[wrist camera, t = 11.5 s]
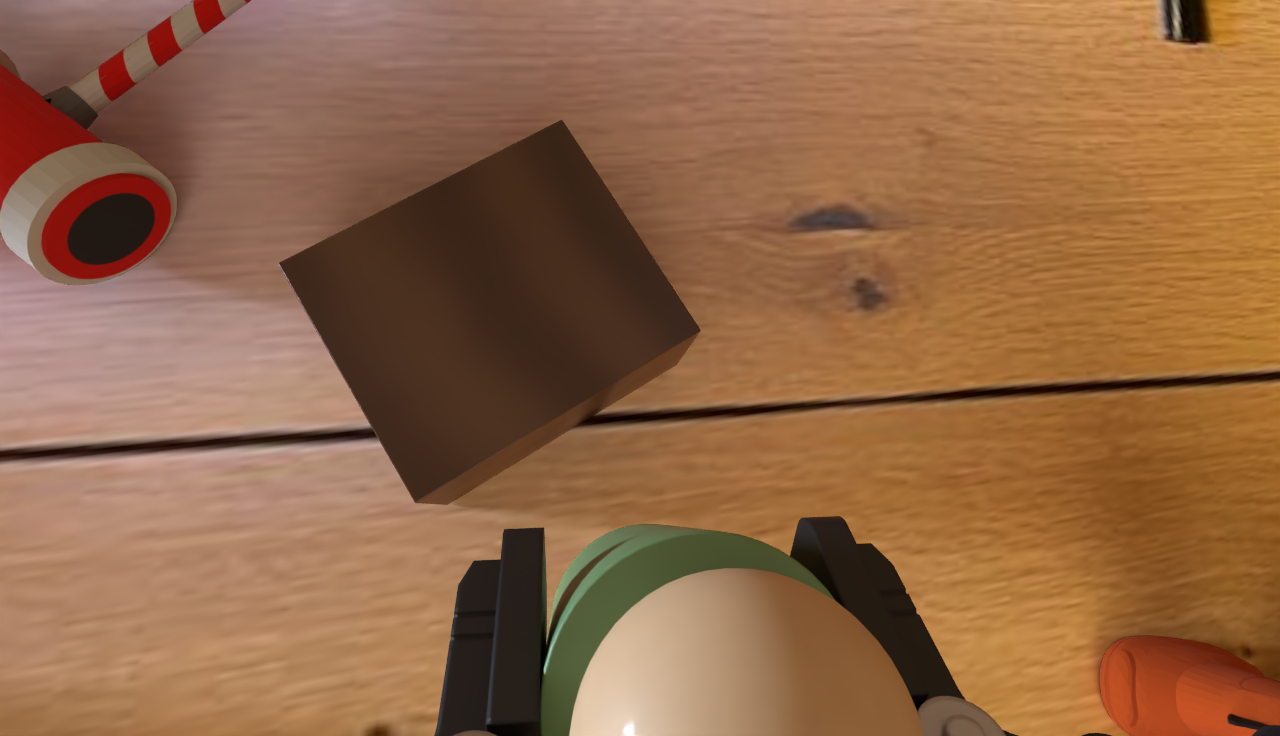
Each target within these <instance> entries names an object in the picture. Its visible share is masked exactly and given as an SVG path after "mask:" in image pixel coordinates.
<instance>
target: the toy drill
mask: <svg viewBox="0 0 1280 736" xmlns="http://www.w3.org/2000/svg"><path fill="white" fill-rule="evenodd" d="M1100 688H1101V695H1102V699H1103V703H1104V706H1105V708H1106V710H1107V712H1108V714H1109V716H1110V717H1111V718H1112V719H1113V721H1114V722H1115V723H1116V724H1117V725H1118V726H1119V727H1120V728H1121V729H1122V730H1124V731H1125V732H1127V733H1128V734H1130V735H1132V736H1280V682H1278V681H1275V680H1271V679H1268V678H1266V677H1265V676H1264V675H1263V674H1262V673H1261V672H1260V671H1259V670H1258V669H1257V668H1256V667H1254V666H1253V665H1251V664H1249V663H1247V662H1246V661H1244V660H1242V659H1240V658H1238V657H1236V656H1234V655H1232V654H1230V653H1229V652H1227V651H1225V650H1223V649H1221V648H1218V647H1215V646H1212V645H1209V644H1205V643H1200V642H1195V641H1190V640H1183V639H1177V638H1169V637H1161V636H1149V635H1148V636H1131V637H1126V638H1123V639H1120V640H1118V641H1116V642H1114V643H1113V644H1112V645H1111V646H1110V647H1109V648H1108V649H1107V651H1106V653H1105V655H1104V657H1103V659H1102V664H1101V668H1100Z"/></svg>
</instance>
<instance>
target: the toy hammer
mask: <svg viewBox="0 0 1280 736" xmlns="http://www.w3.org/2000/svg"><path fill="white" fill-rule="evenodd" d="M250 1H251V0H193V1H192V2H190V3H189V4H187V5H186V6H184V7H183V8H182V9H180V10H179V11H177V12H176V13H174V14H173V15H172V16H170V17H169V18H167V19H166V20H165V21H163V22H162V23H160V24H159V25H157V26H156V27H155V28H153V29H152V30H150V31H149V32H147V33H146V34H145V35H143V36H142V37H140V38H139V39H138V40H136V41H135V42H133V43H132V44H130V45H129V46H128V47H126V48H125V49H123V50H122V51H120V52H119V53H118V54H116V55H115V56H113V57H112V58H110V59H109V60H108V61H106V62H105V63H103V64H102V65H101V66H99V67H98V68H96V69H95V70H93V71H92V72H91V73H89V74H88V75H86V76H85V77H83V78H82V79H81V80H79V81H78V82H76V83H75V84H73V85H72V86H71V87H69V88H68V87H66V86H65V87H62V88H60V89H58V90H56V91H54V92H52V93H49V94H47V95H45V96H41V95H40V94H39V93H38V92H36V91H35V90H34V89H32V88H31V87H30V86H28V85H27V84H26V83H25V82H23V81H22V80H21V78H20V75H19V73H18V71H17V69H16V67H15V65H14V63H13V62H12V61H11V60H10V58H9V57H8V56H7V55H6V54H5V53H4V52H3V51H2V50H0V230H1V233H2V237H3V239H4V241H5V242H6V244H7V245H8V247H9V248H10V249H11V250H12V251H13V252H14V253H15V254H17V255H18V256H19V257H20V258H22V259H23V260H24V261H25V262H27V263H28V264H29V265H30V266H32V267H33V268H34V269H36V270H37V271H38V272H39V273H41V274H42V275H43V276H44V277H46V278H48V279H51V280H53V281H55V282H58V283H63V284H67V285H86V284H94V283H99V282H102V281H106V280H110V279H112V278H114V277H117V276H119V275H122V274H124V273H125V272H127V271H129V270H131V269H133V268H134V267H136V266H137V265H139V264H140V263H141V262H143V261H144V260H145V259H147V258H148V257H149V256H150V255H151V254H152V253H153V252H154V251H155V250H156V249H157V248H158V247H159V246H160V244H161V243H162V242H163V241H164V239H165V238H166V236H167V235H168V233H169V231H170V229H171V227H172V225H173V222H174V220H175V216H176V211H177V196H176V193H175V190H174V187H173V185H172V184H171V182H170V181H169V179H168V178H167V177H166V176H165V175H163V174H162V173H161V172H160V171H159V170H157V169H156V168H155V167H153V166H152V165H151V164H149V163H148V162H147V161H146V160H144V159H143V158H142V157H140V156H139V155H138V154H136V153H135V152H133V151H131V150H129V149H127V148H125V147H123V146H119V145H115V144H111V143H103V142H101V141H100V140H99V139H97V138H96V137H95V136H94V135H92V134H91V133H90V132H88V131H87V130H86V129H87V128H88V127H89V126H90V125H91V124H92V122H93V121H94V120H95V119H96V118H97V117H98V114H97V113H98V112H99V111H100V110H102V109H103V108H104V107H106V106H107V105H108V104H110V103H111V102H113V101H114V100H115V99H117V98H118V97H119V96H121V95H122V94H124V93H125V92H126V91H128V90H129V89H130V88H132V87H133V86H134V85H136V84H137V83H139V82H140V81H141V80H143V79H144V78H145V77H147V76H148V75H150V74H151V73H152V72H154V71H155V70H156V69H158V68H159V67H161V66H162V65H163V64H165V63H166V62H167V61H169V60H170V59H172V58H173V57H174V56H176V55H177V54H178V53H180V52H181V51H182V50H184V49H185V48H187V47H188V46H189V45H191V44H192V43H193V42H195V41H196V40H198V39H199V38H200V37H202V36H203V35H204V34H206V33H207V32H209V31H210V30H211V29H213V28H214V27H215V26H217V25H218V24H220V23H221V22H222V21H224V20H225V19H226V18H228V17H229V16H230V15H232V14H233V13H235V12H236V11H237V10H239V9H240V8H241V7H243V6H244V5H246V4H247V3H248V2H250Z"/></svg>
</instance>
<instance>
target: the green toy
mask: <svg viewBox="0 0 1280 736" xmlns="http://www.w3.org/2000/svg"><path fill="white" fill-rule="evenodd" d="M540 736H924V733H923V730H922V726H921V723H920V720H919V716H918V713H917V710H916V708H915V705H914V703H913V700H912V698H911V696H910V693H909V691H908V689H907V687H906V685H905V683H904V681H903V679H902V677H901V675H900V674H899V672H898V670H897V668H896V667H895V665H894V663H893V661H892V660H891V658H890V657H889V655H888V654H887V653H886V651H885V650H884V649H883V647H882V646H881V644H880V643H879V642H878V640H877V639H876V638H875V637H874V636H873V635H872V634H871V633H870V632H869V631H868V630H867V629H866V628H865V627H864V625H863V624H862V623H861V622H860V621H859V620H858V619H857V618H856V617H855V616H853V615H852V614H851V613H850V612H849V611H847V610H846V609H845V608H844V607H843V606H841V605H840V604H839V603H838V602H836V601H835V599H834V598H833V596H832V595H831V594H830V592H829V591H828V590H827V589H826V588H825V586H824V585H823V584H822V583H821V582H820V581H819V580H818V579H817V578H816V577H815V576H814V575H813V574H812V573H811V572H810V571H809V570H807V569H806V568H805V567H804V566H802V565H801V564H800V563H799V562H798V561H796V560H795V559H793V558H792V557H790V556H788V555H787V554H785V553H784V552H782V551H781V550H779V549H777V548H775V547H772V546H770V545H768V544H766V543H764V542H762V541H759V540H756V539H753V538H749V537H746V536H743V535H739V534H733V533H727V532H721V531H712V530H703V529H694V528H686V527H677V526H668V525H659V524H638V525H630V526H626V527H622V528H619V529H616V530H614V531H611V532H609V533H607V534H605V535H603V536H601V537H599V538H598V539H596V540H595V541H593V542H592V543H591V544H589V545H588V546H587V547H586V548H585V549H584V550H583V551H582V552H581V553H579V554H578V555H577V557H576V558H575V559H574V560H573V562H572V563H571V564H570V565H569V567H568V569H567V570H566V572H565V574H564V575H563V577H562V579H561V581H560V584H559V586H558V588H557V591H556V594H555V597H554V601H553V605H552V611H551V617H550V624H549V631H548V637H547V644H546V652H545V659H544V666H543V673H542V679H541V686H540Z"/></svg>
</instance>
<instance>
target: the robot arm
mask: <svg viewBox="0 0 1280 736" xmlns="http://www.w3.org/2000/svg"><path fill="white" fill-rule="evenodd" d="M790 557H792V558H793V559H795V560H796V561H798V562H799V563H800V564H801V565H802V566H804V567H805V568H806V569H807V570H809V571H810V572H811V573H812V574H813V575H814V576H815V577H816V578H817V579H818V580H819V581H820V582H821V583H822V584H823V585H824V586H825V588H826V589H827V590H828V591H829V592H830V594H831V595H832V596H833V598H834V599H835V601H836V602H838V603H839V604H840V605H841V606H843V607H844V608H845V609H846V610H847V611H849V612H850V613H851V614H852V615H853V616H855V617H856V618H857V619H858V620H859V621H860V622H861V623H862V624H863V625H864V627H865V628H866V629H867V630H868V631H869V632H870V633H871V634H872V635H873V636H874V637H875V638H876V639H877V640H878V642H879V643H880V644H881V646H882V647H883V649H884V650H885V651H886V653H887V654H888V655H889V657H890V658H891V660H892V661H893V663H894V665H895V667H896V668H897V670H898V672H899V674H900V675H901V677H902V679H903V681H904V683H905V685H906V687H907V689H908V691H909V693H910V696H911V698H912V700H913V703H914V705H915V708H916V710H917V713H918V716H919V720H920V723H921V726H922V730H923V733H924V736H1018V735H1014V734H1011V733H1009V732H1007V731H1004V730H1002V729H1001V727H1000V726H999V725H998V724H997V722H996V721H995V720H994V719H993V718H992V717H991V716H990V715H989V714H987V713H986V712H985V711H983V710H982V709H981V708H979V707H978V706H976V705H974V704H973V703H970V702H968V701H966V700H965V698H964V697H963V696H962V694H961V692H960V691H959V689H958V687H957V685H956V684H955V682H954V680H953V678H952V676H951V674H950V672H949V670H948V668H947V666H946V665H945V663H944V661H943V659H942V657H941V655H940V653H939V651H938V649H937V647H936V646H935V644H934V642H933V640H932V638H931V636H930V634H929V632H928V630H927V628H926V627H925V625H924V623H923V621H922V619H921V617H920V615H919V614H917V613H916V608H915V606H914V604H913V602H912V600H911V598H910V596H909V594H906V589H905V587H904V585H903V583H902V581H901V579H900V577H899V575H898V573H897V571H896V570H895V568H894V566H893V564H892V563H891V562H890V561H889V560H888V559H887V558H886V557H885V556H884V555H883V554H882V553H881V552H879V551H878V550H877V549H876V548H875V547H874V546H873V545H872V544H871V543H866V544H856V542H855V539H854V537H853V535H852V533H851V531H850V529H849V527H848V525H847V523H846V521H845V520H844V519H843V518H842V517H840V516H833V517H809V518H801V519H800V520H799V522H798V526H797V530H796V534H795V538H794V542H793V546H792V550H791V554H790ZM546 635H547V584H546V559H545V535H544V528H525V529H504V532H503V540H502V552H501V560H481V561H474V562H473V563H472V565H471V566H470V568H469V569H468V571H467V573H466V574H465V576H464V577H463V579H462V580H461V582H460V583H459V585H458V591H457V598H456V604H455V611H454V618H453V624H452V631H451V641H450V644H449V651H448V657H447V664H446V671H445V677H444V684H443V690H442V697H441V704H440V710H439V717H438V724H437V728H436V733H435V736H540V686H541V679H542V673H543V666H544V659H545V652H546ZM1082 736H1111V735H1107V734H1101V733H1089V734H1085V735H1082Z"/></svg>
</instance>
